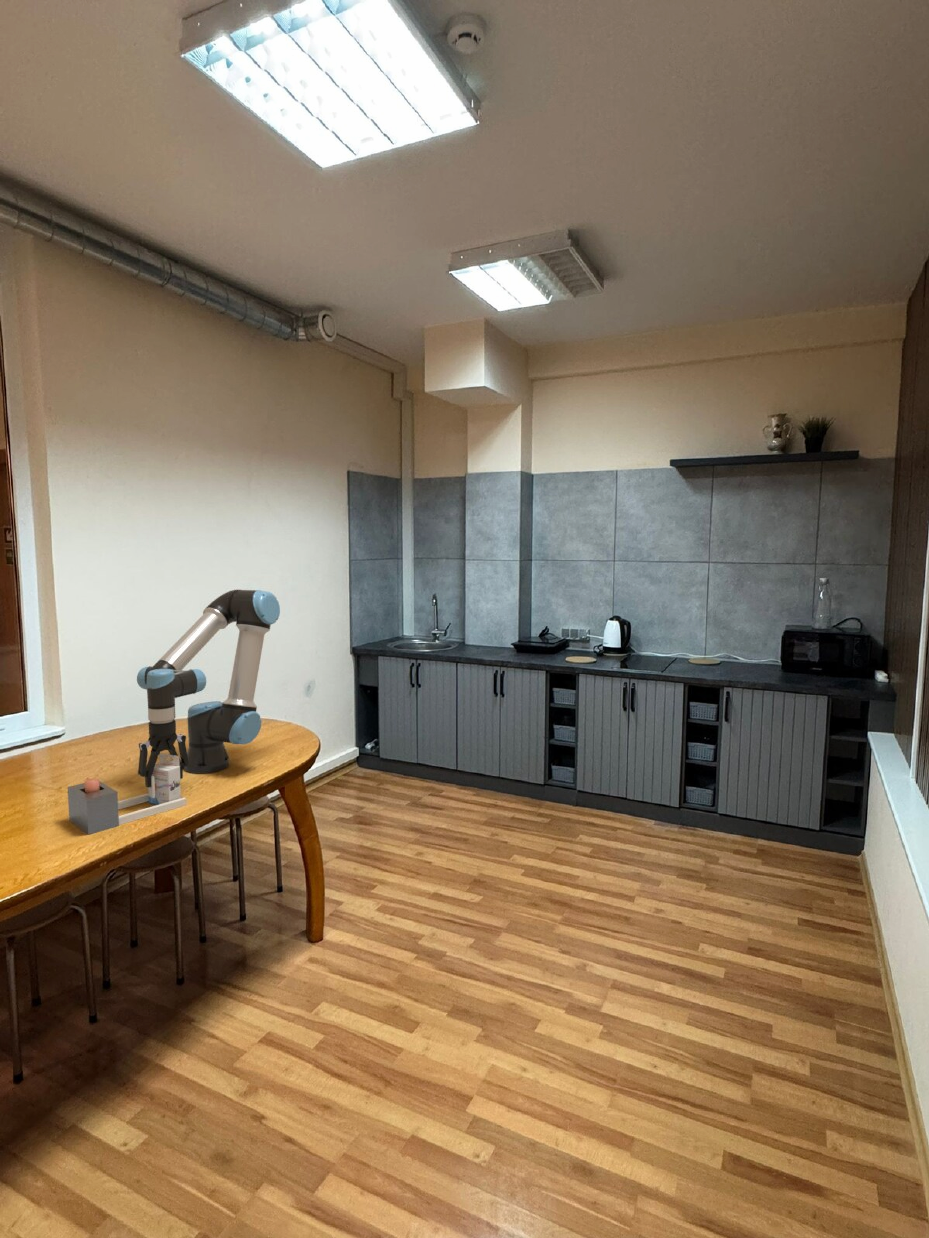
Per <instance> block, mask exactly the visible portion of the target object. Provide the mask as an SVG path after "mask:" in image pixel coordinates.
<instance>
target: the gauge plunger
mask: <svg viewBox="0 0 929 1238" xmlns="http://www.w3.org/2000/svg"><path fill="white" fill-rule="evenodd" d="M99 781H100V779H99V778H89V779H86V780H84V783H85V793H86V794H88V793H92V792H96V791H100V789H99Z"/></svg>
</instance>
